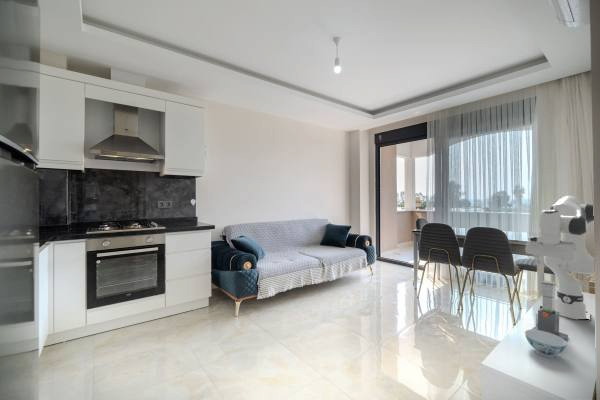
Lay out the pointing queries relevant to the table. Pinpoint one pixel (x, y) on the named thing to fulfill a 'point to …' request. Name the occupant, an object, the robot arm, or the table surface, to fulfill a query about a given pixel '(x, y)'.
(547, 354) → the chinaware
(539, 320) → the stand base
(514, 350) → the table surface
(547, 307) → the column
